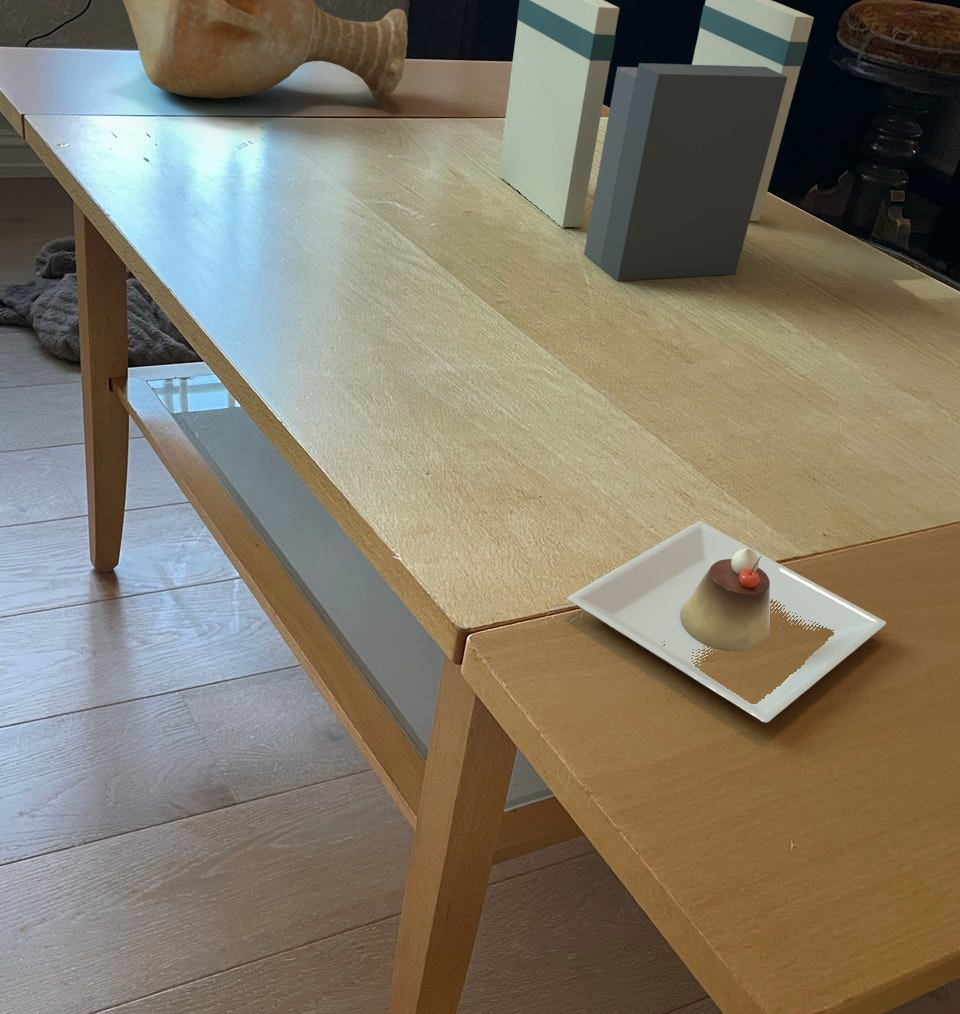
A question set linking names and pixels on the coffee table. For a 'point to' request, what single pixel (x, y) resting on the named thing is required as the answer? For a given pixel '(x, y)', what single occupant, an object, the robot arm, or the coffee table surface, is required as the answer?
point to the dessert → (721, 609)
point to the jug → (260, 45)
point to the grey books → (681, 168)
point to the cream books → (582, 81)
